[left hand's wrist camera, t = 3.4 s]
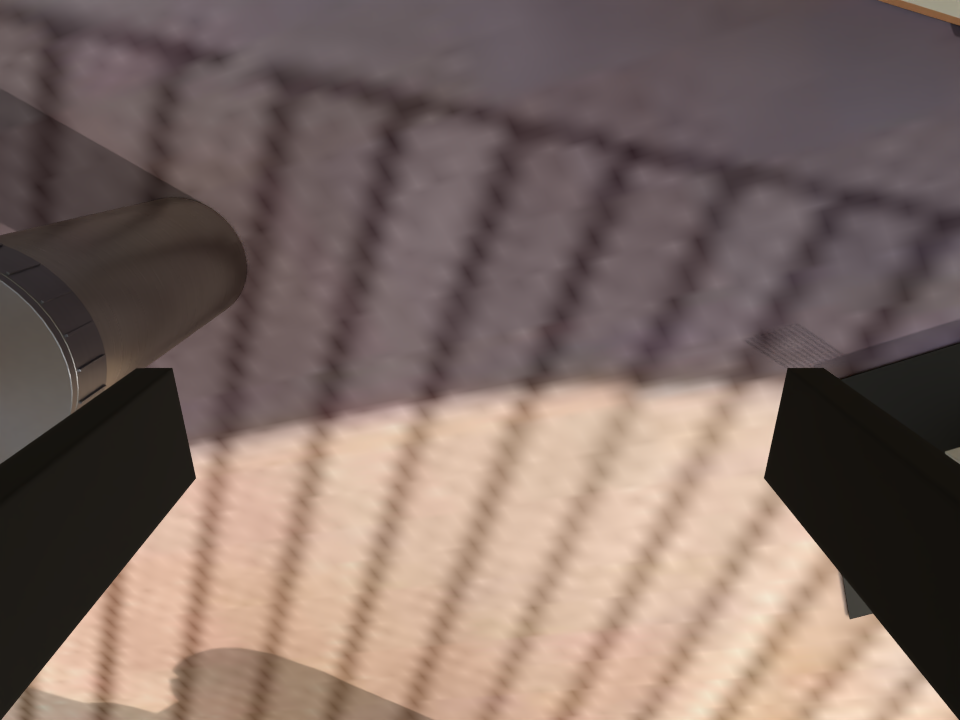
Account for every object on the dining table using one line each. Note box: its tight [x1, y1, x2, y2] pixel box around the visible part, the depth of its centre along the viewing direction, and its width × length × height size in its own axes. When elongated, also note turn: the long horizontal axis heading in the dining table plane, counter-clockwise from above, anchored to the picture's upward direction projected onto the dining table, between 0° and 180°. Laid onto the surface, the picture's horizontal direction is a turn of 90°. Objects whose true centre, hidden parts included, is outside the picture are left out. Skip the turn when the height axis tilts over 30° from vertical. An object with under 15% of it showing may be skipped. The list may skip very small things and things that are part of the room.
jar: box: [0, 197, 247, 391], centre depth 31 cm, size 8×8×19 cm
